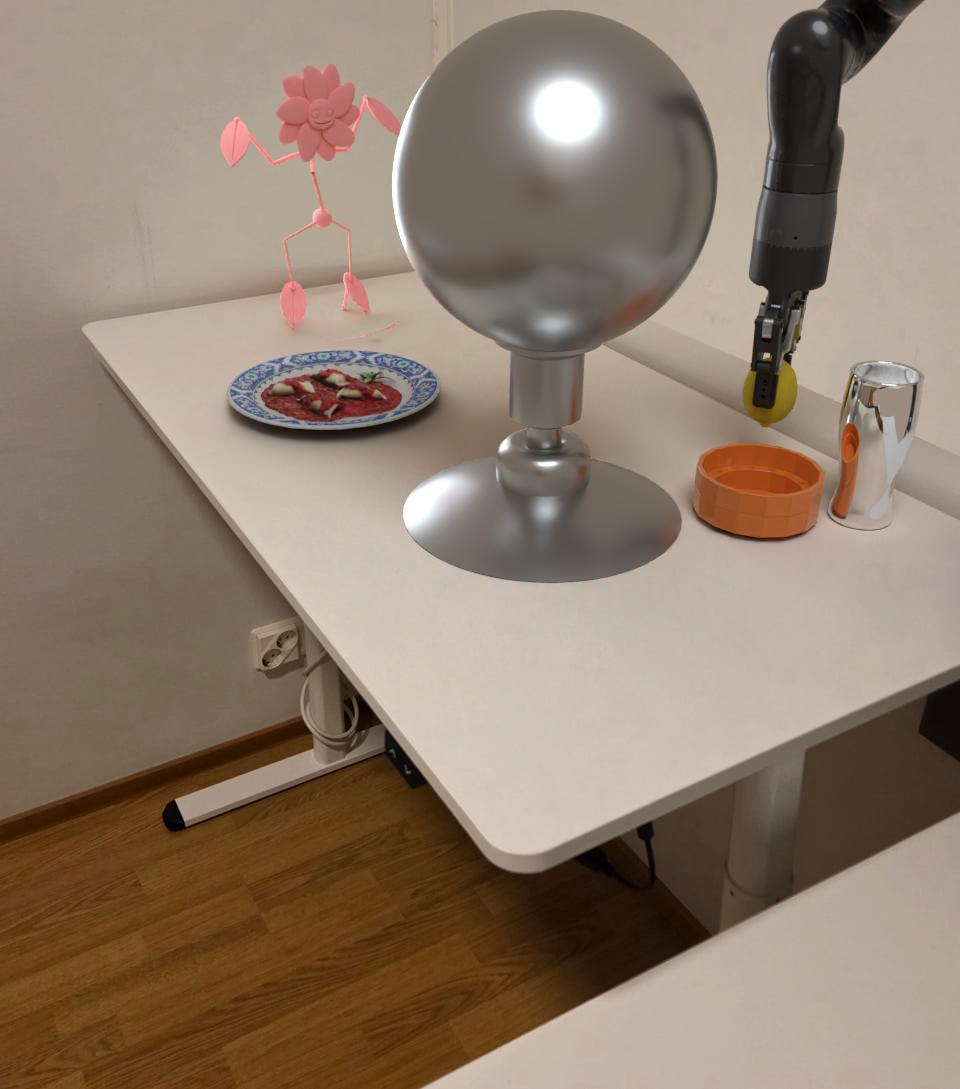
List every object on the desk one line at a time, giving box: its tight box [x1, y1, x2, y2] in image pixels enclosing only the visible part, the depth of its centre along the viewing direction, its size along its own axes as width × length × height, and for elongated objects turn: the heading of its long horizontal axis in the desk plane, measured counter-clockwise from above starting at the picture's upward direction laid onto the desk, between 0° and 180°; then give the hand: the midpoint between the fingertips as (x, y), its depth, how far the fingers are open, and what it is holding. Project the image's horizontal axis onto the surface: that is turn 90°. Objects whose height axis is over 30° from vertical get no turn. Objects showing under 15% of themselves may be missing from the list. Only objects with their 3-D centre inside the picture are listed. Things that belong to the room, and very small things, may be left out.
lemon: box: [741, 355, 798, 428], centre depth 115 cm, size 6×6×8 cm
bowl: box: [692, 442, 826, 538], centre depth 108 cm, size 12×12×5 cm
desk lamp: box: [391, 9, 719, 583], centre depth 99 cm, size 28×28×45 cm
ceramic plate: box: [225, 349, 442, 431], centre depth 134 cm, size 26×26×3 cm
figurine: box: [220, 63, 402, 337], centre depth 152 cm, size 15×26×35 cm, turn 122°
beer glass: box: [827, 360, 925, 531], centre depth 106 cm, size 7×7×15 cm
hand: (770, 396), depth 116 cm, fingers closed on lemon, 5 cm apart
